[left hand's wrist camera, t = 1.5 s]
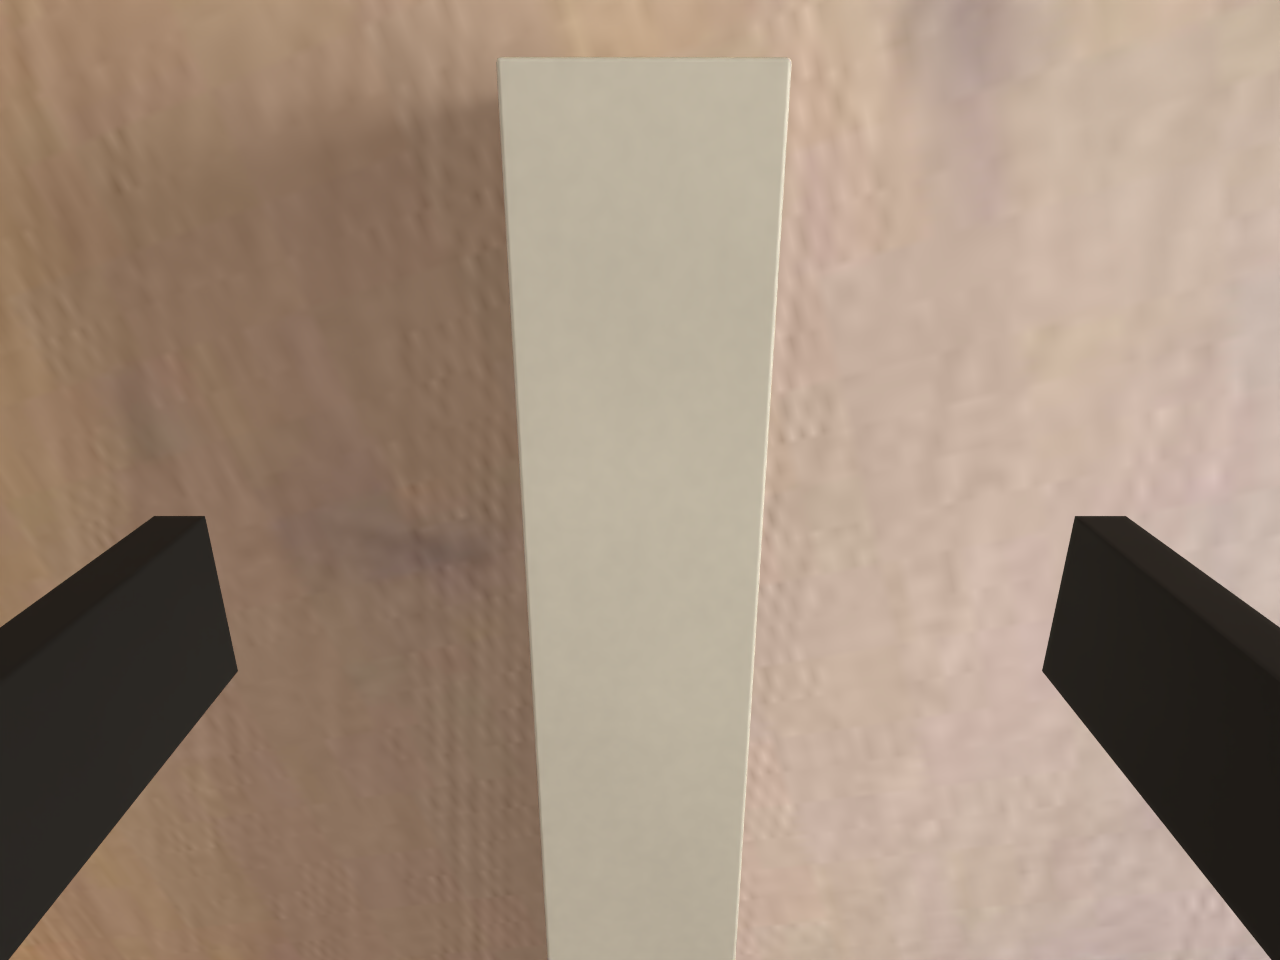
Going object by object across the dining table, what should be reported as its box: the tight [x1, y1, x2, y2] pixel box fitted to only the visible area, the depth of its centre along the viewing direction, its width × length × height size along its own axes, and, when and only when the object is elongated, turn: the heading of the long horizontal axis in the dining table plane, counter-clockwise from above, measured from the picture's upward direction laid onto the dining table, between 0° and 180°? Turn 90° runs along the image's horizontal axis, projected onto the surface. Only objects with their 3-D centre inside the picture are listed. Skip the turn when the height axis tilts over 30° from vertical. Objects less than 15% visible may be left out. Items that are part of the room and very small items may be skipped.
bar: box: [496, 57, 791, 960], centre depth 29 cm, size 55×6×8 cm, turn 0°
